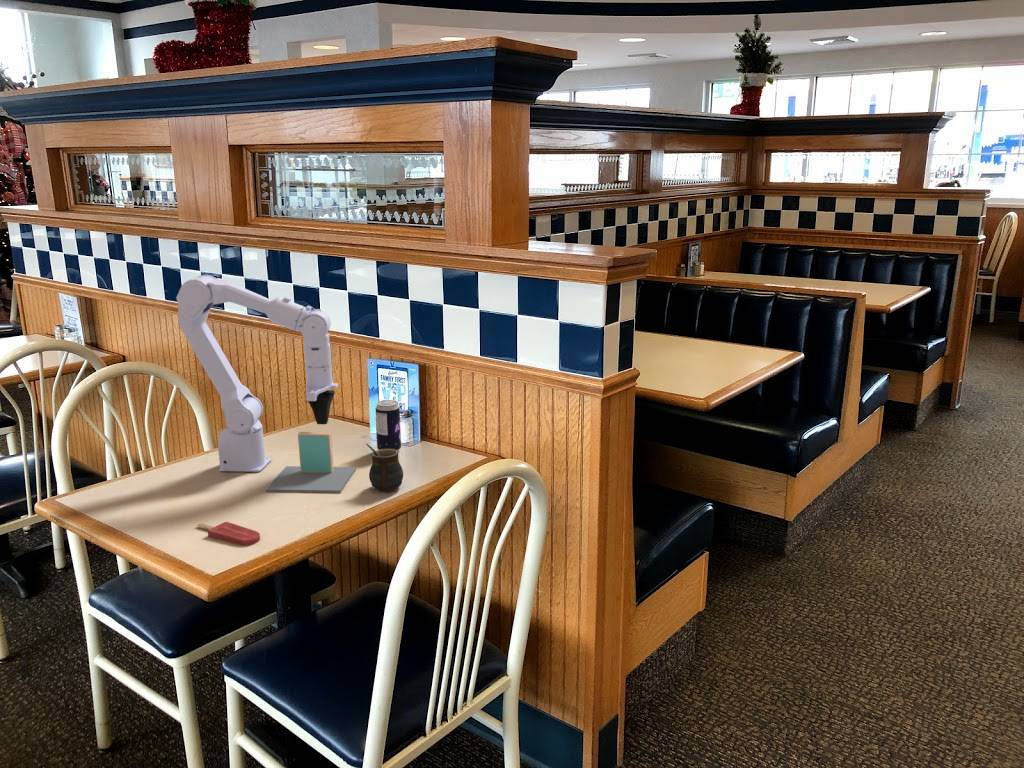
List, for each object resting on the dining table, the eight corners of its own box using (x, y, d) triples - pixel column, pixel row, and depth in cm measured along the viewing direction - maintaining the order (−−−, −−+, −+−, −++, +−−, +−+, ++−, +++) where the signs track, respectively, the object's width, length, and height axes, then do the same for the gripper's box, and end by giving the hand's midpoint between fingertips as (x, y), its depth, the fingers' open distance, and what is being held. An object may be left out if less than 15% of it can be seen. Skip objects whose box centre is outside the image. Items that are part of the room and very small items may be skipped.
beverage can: (399, 454, 194) (397, 406, 191) (375, 454, 194) (373, 406, 191) (402, 447, 200) (401, 399, 197) (379, 447, 200) (377, 399, 197)
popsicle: (207, 515, 157) (265, 532, 150) (207, 523, 157) (266, 540, 150) (187, 524, 153) (246, 541, 146) (188, 532, 153) (247, 550, 146)
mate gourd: (403, 494, 170) (400, 448, 168) (366, 495, 170) (363, 450, 167) (405, 481, 177) (403, 437, 175) (370, 482, 177) (367, 438, 174)
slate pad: (265, 491, 172) (265, 489, 172) (286, 468, 186) (286, 466, 185) (340, 492, 171) (340, 490, 171) (356, 469, 185) (356, 467, 185)
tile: (300, 472, 181) (297, 434, 179) (303, 469, 183) (300, 431, 181) (331, 473, 181) (329, 434, 178) (333, 470, 183) (331, 432, 180)
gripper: (327, 373, 175) (331, 433, 178) (344, 358, 189) (347, 414, 192) (294, 372, 175) (299, 433, 179) (314, 357, 189) (318, 414, 193)
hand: (322, 423), depth 186 cm, fingers closed
